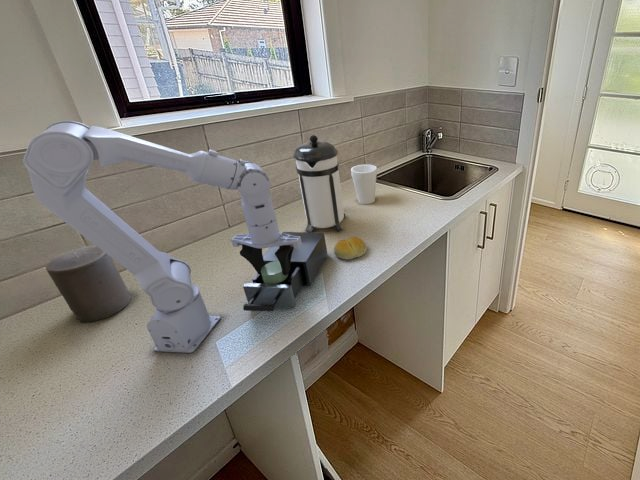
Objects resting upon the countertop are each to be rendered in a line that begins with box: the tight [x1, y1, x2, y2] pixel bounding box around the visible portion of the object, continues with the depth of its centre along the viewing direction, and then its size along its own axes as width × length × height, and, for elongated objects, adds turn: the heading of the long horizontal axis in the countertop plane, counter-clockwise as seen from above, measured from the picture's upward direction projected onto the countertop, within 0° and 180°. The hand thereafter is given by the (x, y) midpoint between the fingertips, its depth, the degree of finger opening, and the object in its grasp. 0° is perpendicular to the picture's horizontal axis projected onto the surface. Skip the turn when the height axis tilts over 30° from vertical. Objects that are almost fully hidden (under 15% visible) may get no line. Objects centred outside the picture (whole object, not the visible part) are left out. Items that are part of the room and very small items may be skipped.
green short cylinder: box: [261, 261, 288, 284], centre depth 76 cm, size 5×5×3 cm
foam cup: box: [350, 163, 378, 205], centre depth 125 cm, size 10×9×13 cm
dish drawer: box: [242, 263, 306, 313], centre depth 78 cm, size 17×10×6 cm, turn 177°
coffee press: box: [293, 134, 346, 233], centre depth 106 cm, size 17×16×30 cm
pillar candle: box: [45, 245, 132, 323], centre depth 73 cm, size 10×10×15 cm
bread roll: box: [333, 236, 368, 260], centre depth 96 cm, size 8×9×4 cm
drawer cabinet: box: [262, 231, 329, 288], centre depth 88 cm, size 14×12×8 cm
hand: (274, 272), depth 76 cm, fingers closed on green short cylinder, 5 cm apart
